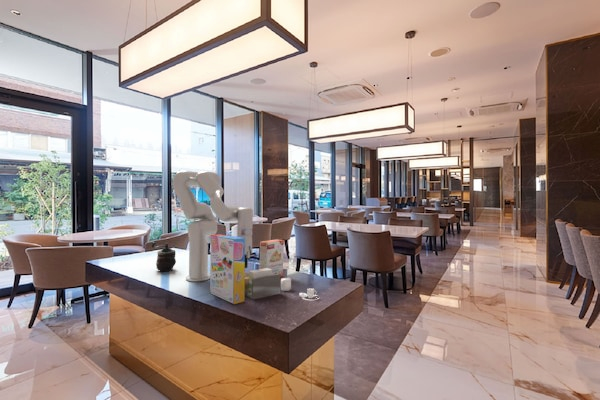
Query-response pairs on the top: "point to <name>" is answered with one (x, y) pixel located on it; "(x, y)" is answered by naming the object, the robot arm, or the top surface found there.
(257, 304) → the top surface
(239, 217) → the robot arm
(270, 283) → the stand
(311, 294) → the teacup and saucer
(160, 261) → the coffee grinder
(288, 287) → the white rounded block
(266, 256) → the cracker box
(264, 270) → the carton
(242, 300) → the game box
